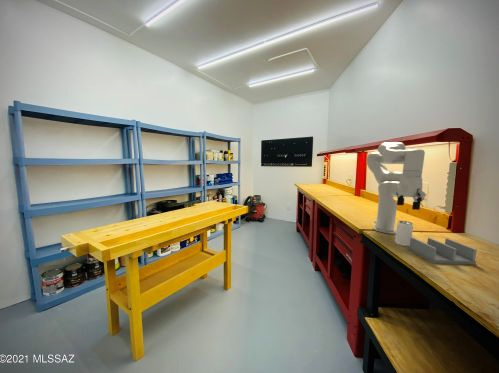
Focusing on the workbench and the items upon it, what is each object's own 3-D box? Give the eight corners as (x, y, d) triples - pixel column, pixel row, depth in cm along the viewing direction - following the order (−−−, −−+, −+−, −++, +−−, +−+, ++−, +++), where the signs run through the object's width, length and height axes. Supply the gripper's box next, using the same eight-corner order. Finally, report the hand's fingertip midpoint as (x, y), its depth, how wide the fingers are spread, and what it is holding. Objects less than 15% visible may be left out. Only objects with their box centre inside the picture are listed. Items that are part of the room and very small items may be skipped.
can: (403, 247, 96) (406, 224, 94) (391, 242, 102) (394, 220, 101) (414, 246, 97) (417, 224, 96) (401, 241, 103) (404, 220, 102)
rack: (408, 249, 93) (409, 236, 92) (444, 250, 93) (446, 238, 92) (433, 263, 80) (435, 248, 80) (475, 264, 80) (478, 250, 79)
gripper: (391, 173, 104) (388, 203, 106) (419, 175, 87) (414, 211, 89) (405, 173, 104) (401, 203, 106) (435, 175, 86) (430, 211, 89)
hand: (407, 207), depth 97 cm, fingers open, 9 cm apart
